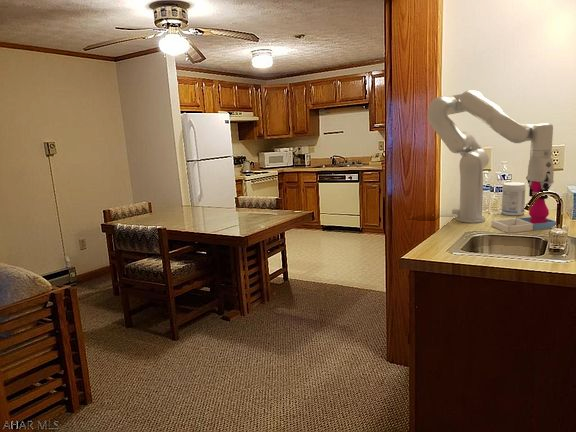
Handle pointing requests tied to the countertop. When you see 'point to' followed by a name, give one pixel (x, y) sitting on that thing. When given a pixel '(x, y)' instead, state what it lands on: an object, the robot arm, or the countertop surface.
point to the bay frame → (521, 224)
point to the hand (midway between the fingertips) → (538, 197)
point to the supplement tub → (513, 198)
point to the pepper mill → (538, 206)
